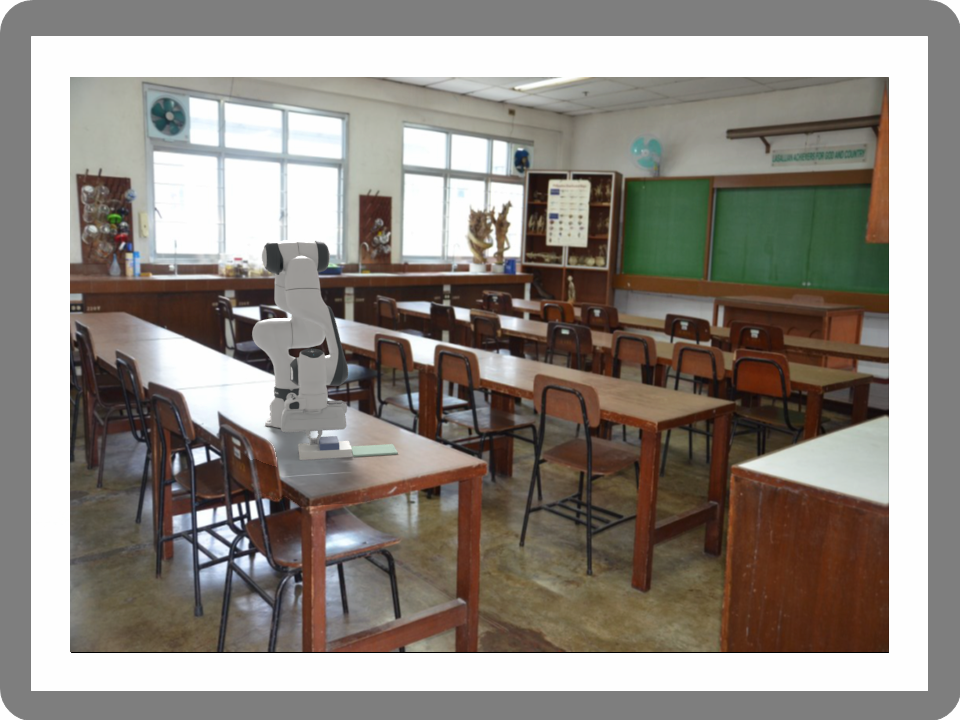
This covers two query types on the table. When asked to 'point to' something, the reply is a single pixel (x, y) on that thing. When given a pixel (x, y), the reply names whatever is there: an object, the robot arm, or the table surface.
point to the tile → (329, 443)
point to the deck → (324, 451)
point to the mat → (373, 450)
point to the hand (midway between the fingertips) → (314, 444)
